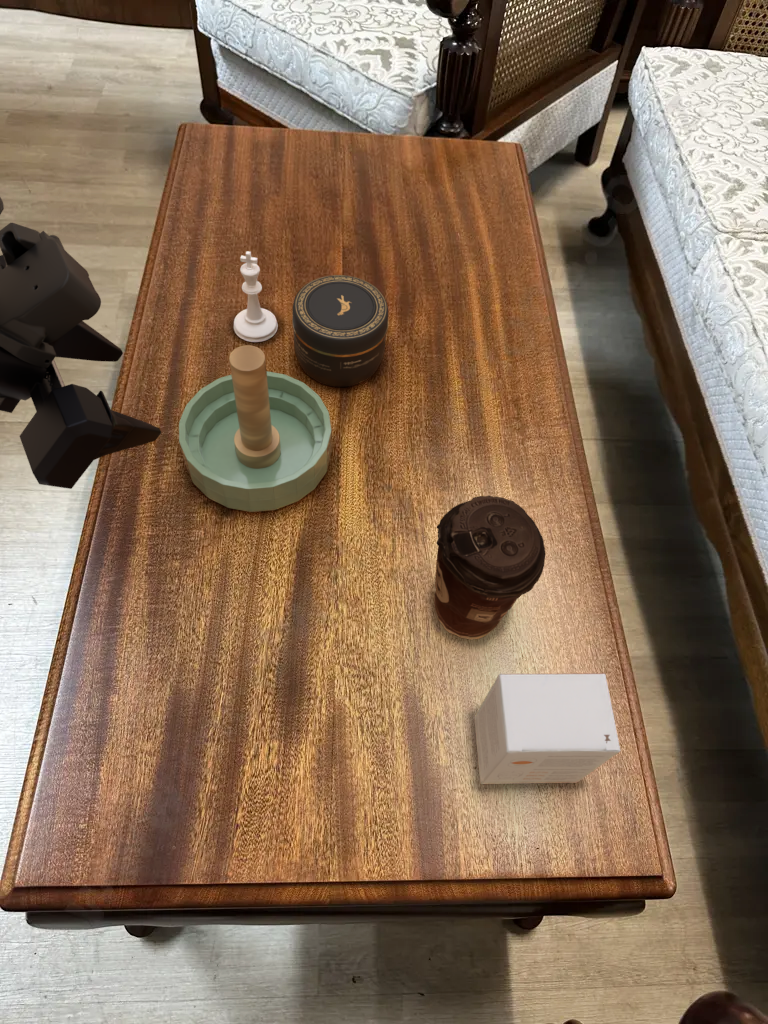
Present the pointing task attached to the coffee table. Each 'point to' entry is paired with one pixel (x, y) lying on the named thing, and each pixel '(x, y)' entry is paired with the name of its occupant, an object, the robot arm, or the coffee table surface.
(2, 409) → the robot arm
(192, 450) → the bowl
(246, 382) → the muddler
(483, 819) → the coffee table surface
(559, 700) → the small box
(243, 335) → the chess piece
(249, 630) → the coffee table surface
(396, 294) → the coffee table surface
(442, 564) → the coffee cup
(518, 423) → the coffee table surface
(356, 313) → the jar
